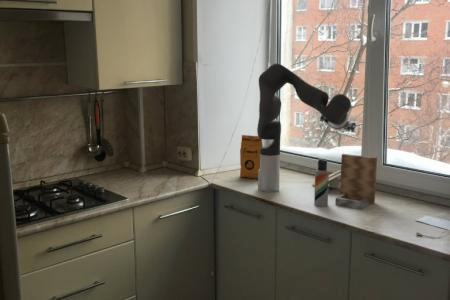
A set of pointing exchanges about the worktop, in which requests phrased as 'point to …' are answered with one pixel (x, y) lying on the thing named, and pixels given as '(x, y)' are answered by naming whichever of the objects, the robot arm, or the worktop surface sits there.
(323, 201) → the lotion bottle
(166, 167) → the worktop surface
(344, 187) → the cleat board
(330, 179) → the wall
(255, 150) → the coffee package
